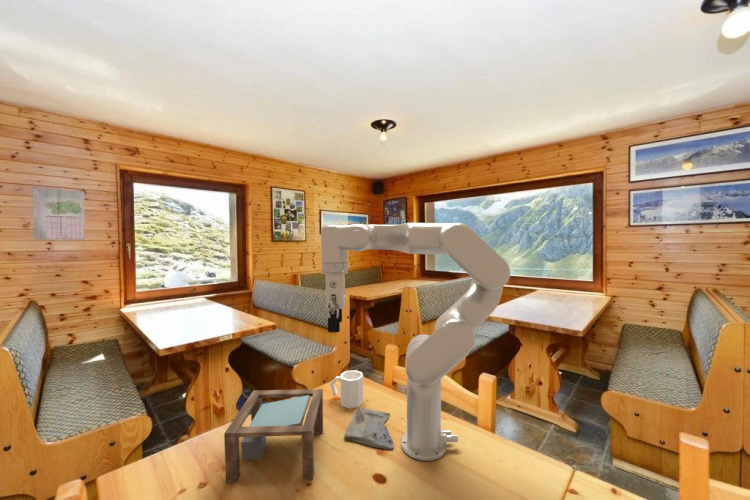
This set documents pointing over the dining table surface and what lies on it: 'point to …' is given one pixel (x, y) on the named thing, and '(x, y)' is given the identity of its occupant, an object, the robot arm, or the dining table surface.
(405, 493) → the dining table surface
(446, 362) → the robot arm
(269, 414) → the trapdoor
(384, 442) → the fossil rock
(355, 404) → the mug
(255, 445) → the gray cube
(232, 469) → the trapdoor frame
